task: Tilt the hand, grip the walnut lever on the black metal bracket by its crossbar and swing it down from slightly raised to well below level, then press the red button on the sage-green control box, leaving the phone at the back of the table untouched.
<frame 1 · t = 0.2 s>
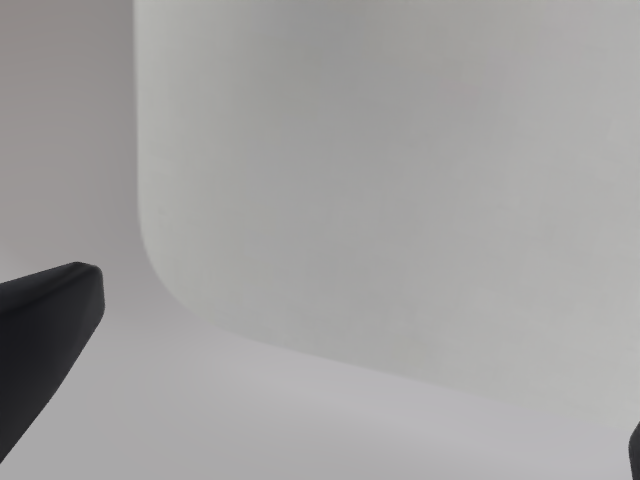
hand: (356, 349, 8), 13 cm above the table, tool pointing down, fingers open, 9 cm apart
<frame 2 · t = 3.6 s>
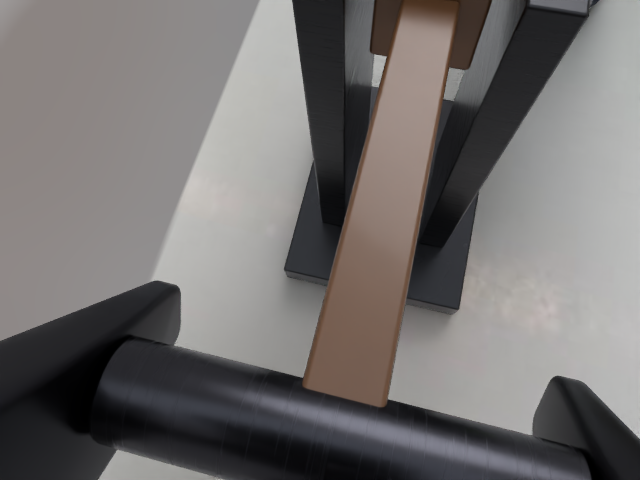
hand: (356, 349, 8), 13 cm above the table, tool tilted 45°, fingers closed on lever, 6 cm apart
bracket: (390, 196, 23), on the table
lever: (401, 136, 9), point 13 cm above the table, hinge at 10.0°, touching gripper
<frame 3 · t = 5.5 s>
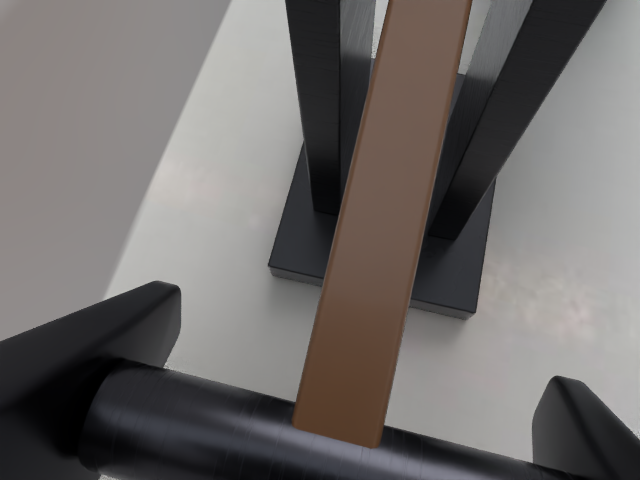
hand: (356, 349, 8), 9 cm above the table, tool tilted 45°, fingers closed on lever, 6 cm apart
bracket: (392, 183, 20), on the table
lever: (408, 98, 7), point 12 cm above the table, hinge at -10.4°, touching gripper
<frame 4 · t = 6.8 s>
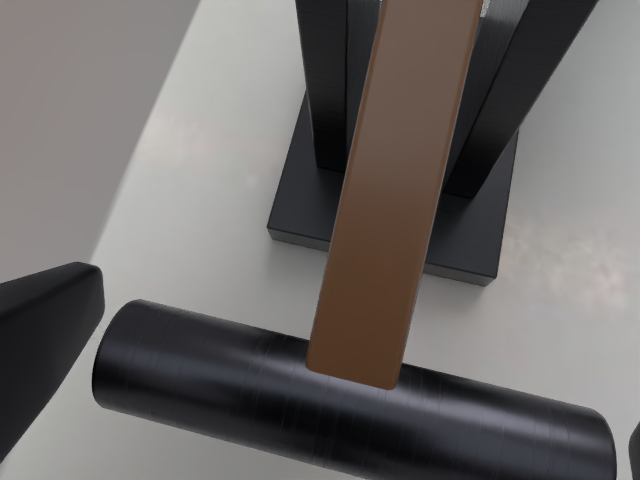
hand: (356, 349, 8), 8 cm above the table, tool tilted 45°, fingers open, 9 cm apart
bracket: (403, 139, 18), on the table
lever: (432, 1, 6), point 11 cm above the table, hinge at -19.5°
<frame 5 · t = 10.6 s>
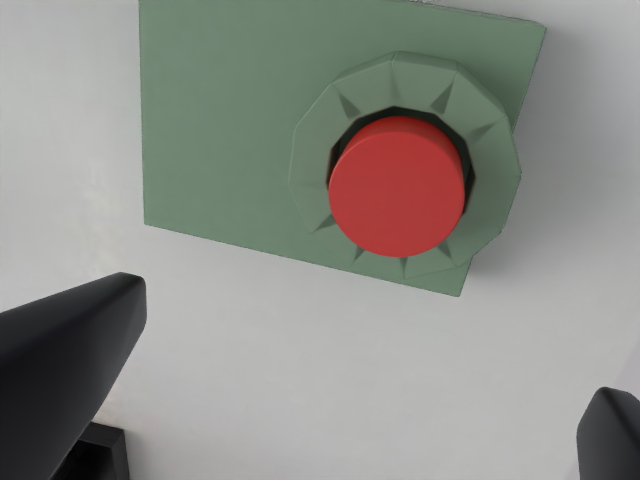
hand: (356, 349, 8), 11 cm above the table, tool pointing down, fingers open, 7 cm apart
bracket: (58, 454, 31), on the table
control box: (322, 128, 18), on the table
button: (397, 186, 15), point 4 cm above the table, slide at 0.1 cm
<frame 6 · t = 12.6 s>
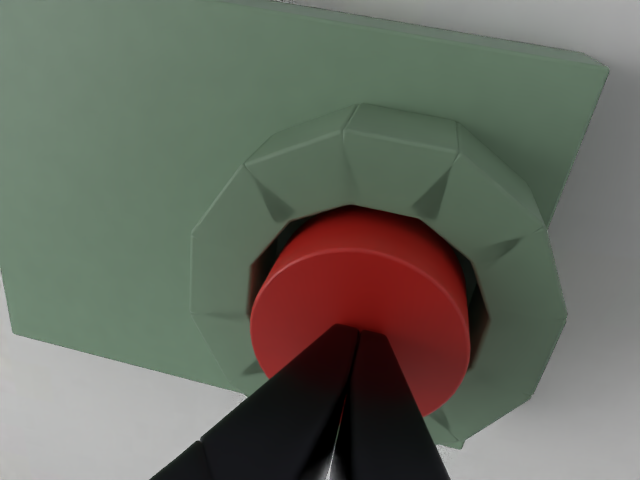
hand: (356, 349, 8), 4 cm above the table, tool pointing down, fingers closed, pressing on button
control box: (259, 204, 13), on the table
button: (362, 316, 9), point 3 cm above the table, slide at -0.4 cm, touching gripper
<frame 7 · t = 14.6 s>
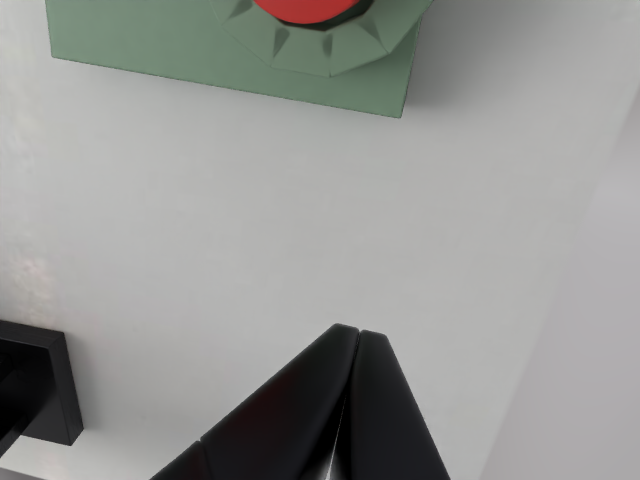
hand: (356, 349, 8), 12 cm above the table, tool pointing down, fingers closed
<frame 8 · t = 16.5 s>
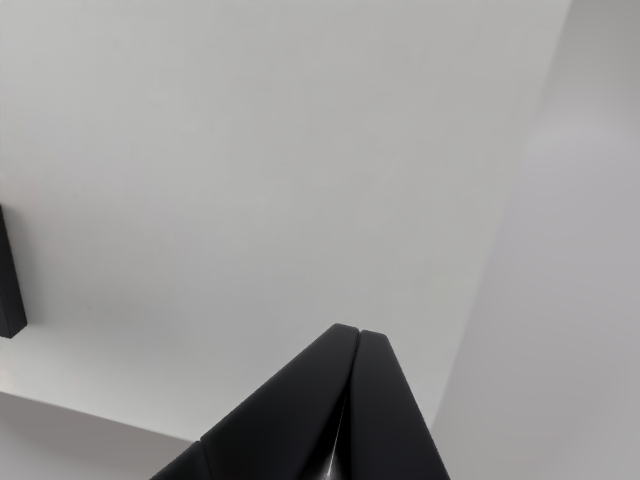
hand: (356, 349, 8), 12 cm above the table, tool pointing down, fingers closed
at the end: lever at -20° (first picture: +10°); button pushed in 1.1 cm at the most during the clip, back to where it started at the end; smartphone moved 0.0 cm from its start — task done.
